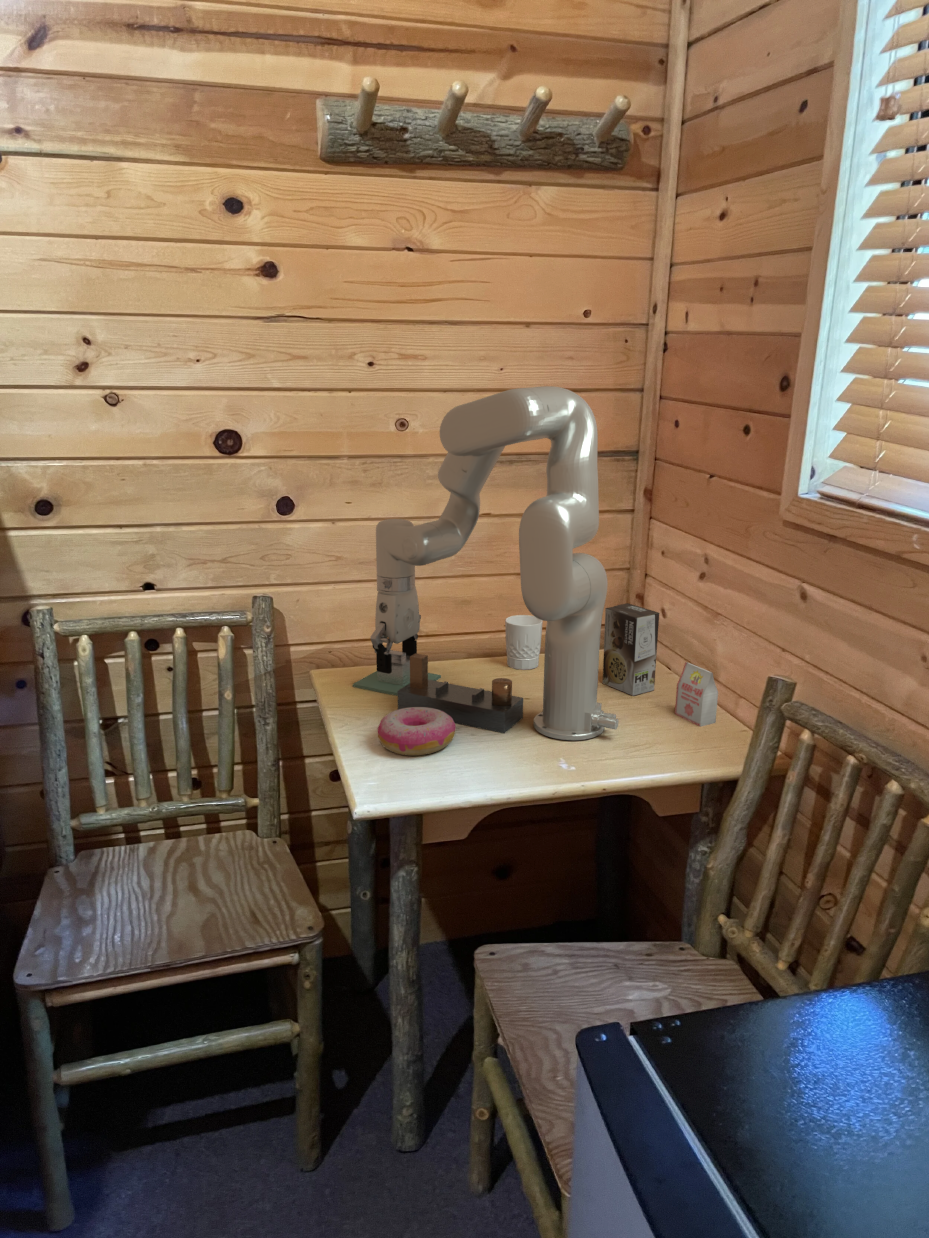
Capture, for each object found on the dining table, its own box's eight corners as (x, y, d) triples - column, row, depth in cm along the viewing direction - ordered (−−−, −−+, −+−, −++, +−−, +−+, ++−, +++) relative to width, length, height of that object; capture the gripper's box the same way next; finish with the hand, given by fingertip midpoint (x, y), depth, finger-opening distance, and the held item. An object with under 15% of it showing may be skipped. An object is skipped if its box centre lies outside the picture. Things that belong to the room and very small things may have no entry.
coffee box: (655, 690, 184) (661, 612, 179) (632, 696, 180) (637, 617, 176) (623, 677, 191) (628, 602, 186) (600, 683, 188) (604, 606, 183)
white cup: (529, 673, 193) (531, 627, 190) (497, 666, 197) (498, 621, 194) (547, 663, 199) (549, 618, 196) (516, 656, 203) (517, 613, 200)
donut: (445, 725, 167) (445, 699, 165) (464, 755, 154) (464, 728, 153) (371, 732, 163) (371, 706, 162) (384, 764, 151) (384, 736, 150)
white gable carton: (689, 710, 174) (693, 660, 171) (715, 722, 168) (720, 671, 165) (674, 714, 172) (678, 663, 169) (700, 726, 166) (704, 674, 164)
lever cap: (377, 680, 186) (377, 653, 185) (390, 673, 190) (390, 646, 189) (402, 685, 184) (402, 658, 182) (415, 678, 188) (415, 651, 186)
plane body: (397, 710, 173) (397, 660, 170) (419, 697, 179) (418, 648, 177) (504, 733, 163) (505, 680, 160) (522, 717, 170) (524, 666, 167)
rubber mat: (441, 677, 190) (441, 675, 190) (408, 698, 179) (408, 695, 179) (387, 667, 196) (387, 664, 195) (352, 686, 184) (352, 684, 184)
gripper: (388, 595, 172) (390, 681, 177) (434, 575, 187) (434, 655, 192) (355, 590, 175) (357, 675, 180) (402, 571, 190) (403, 650, 195)
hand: (397, 665), depth 186 cm, fingers open, 9 cm apart
